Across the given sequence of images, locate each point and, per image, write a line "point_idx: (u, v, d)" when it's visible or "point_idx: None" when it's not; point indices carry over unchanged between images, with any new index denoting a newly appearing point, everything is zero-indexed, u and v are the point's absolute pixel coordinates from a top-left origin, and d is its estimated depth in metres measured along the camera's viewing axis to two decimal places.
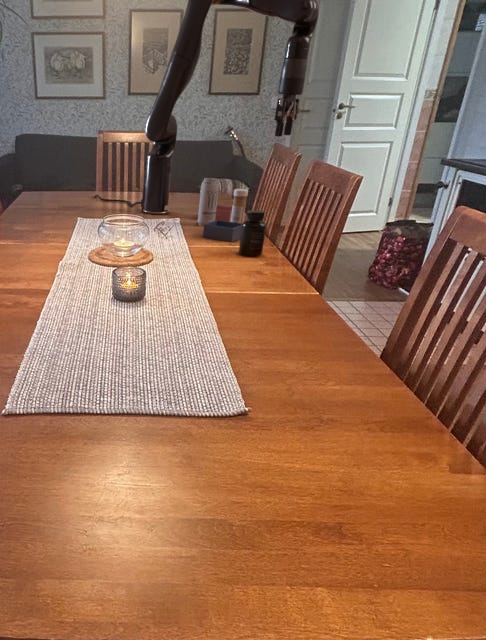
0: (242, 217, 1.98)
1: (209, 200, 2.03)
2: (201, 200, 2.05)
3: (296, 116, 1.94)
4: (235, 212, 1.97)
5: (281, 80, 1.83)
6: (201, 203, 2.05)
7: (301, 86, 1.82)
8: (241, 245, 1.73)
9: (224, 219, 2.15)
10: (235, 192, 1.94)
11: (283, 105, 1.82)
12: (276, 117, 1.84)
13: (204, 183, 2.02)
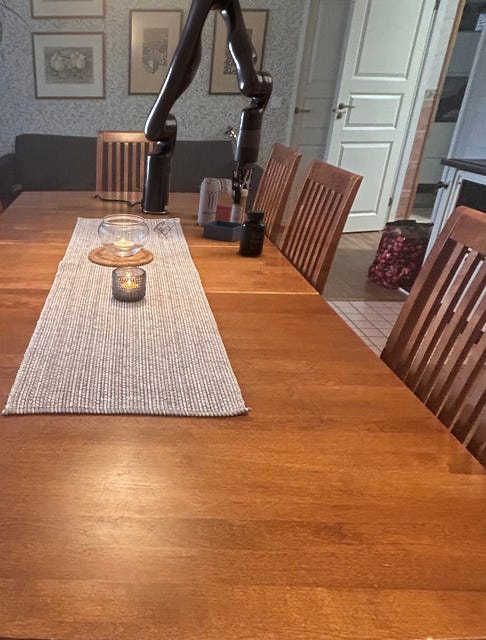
0: (242, 217, 1.98)
1: (209, 200, 2.03)
2: (201, 200, 2.05)
3: (251, 184, 1.97)
4: (236, 212, 1.97)
5: (236, 149, 1.88)
6: (201, 203, 2.05)
7: (255, 155, 1.87)
8: (241, 245, 1.73)
9: (224, 219, 2.15)
10: None
11: (238, 178, 1.88)
12: (233, 188, 1.91)
13: (204, 183, 2.02)
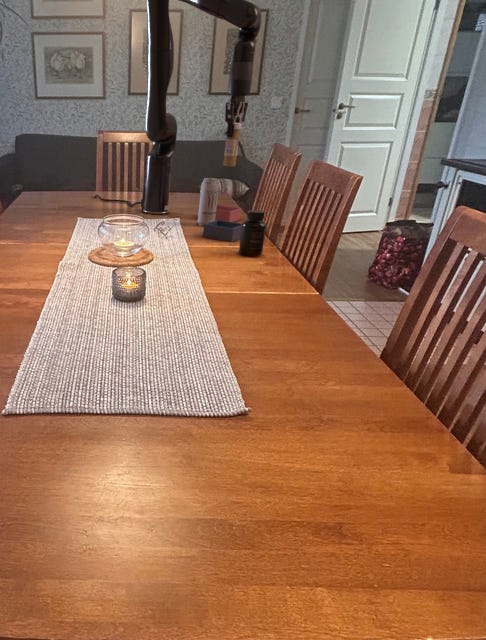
0: (235, 150, 2.06)
1: (209, 200, 2.03)
2: (201, 200, 2.05)
3: (244, 119, 2.06)
4: (229, 145, 2.05)
5: (229, 82, 1.96)
6: (201, 203, 2.05)
7: (248, 87, 1.95)
8: (241, 245, 1.73)
9: (224, 219, 2.15)
10: None
11: (231, 109, 1.96)
12: (226, 120, 1.99)
13: (204, 183, 2.02)
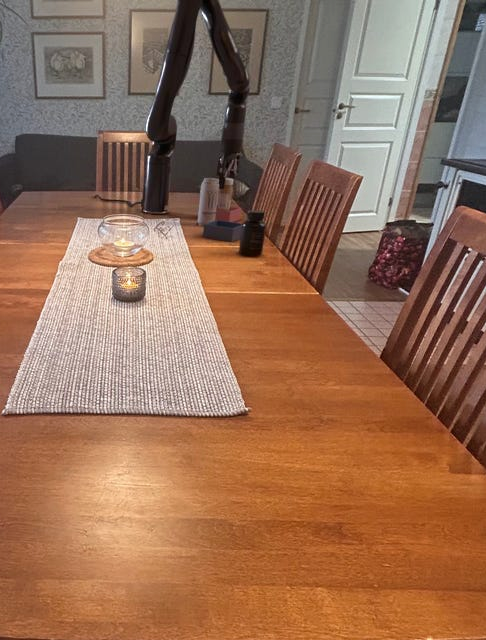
0: (228, 204, 2.16)
1: (209, 200, 2.03)
2: (201, 200, 2.05)
3: (238, 170, 2.16)
4: (222, 199, 2.15)
5: (222, 140, 2.06)
6: (201, 203, 2.05)
7: (239, 146, 2.05)
8: (241, 245, 1.73)
9: (224, 219, 2.15)
10: None
11: (223, 163, 2.05)
12: (218, 173, 2.07)
13: (204, 183, 2.02)
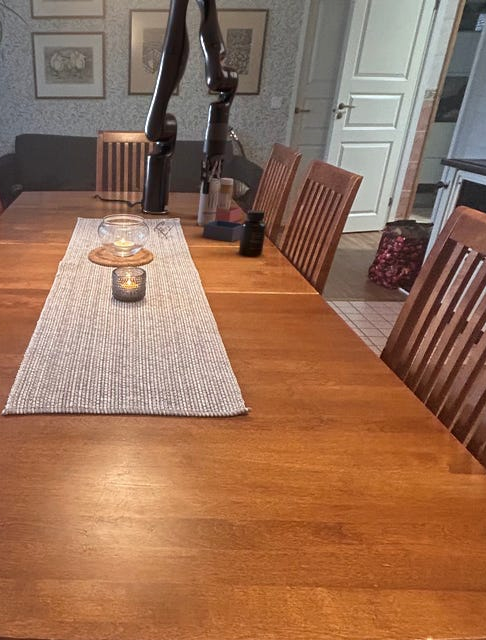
0: (228, 204, 2.16)
1: (209, 200, 2.03)
2: (201, 200, 2.05)
3: (221, 174, 2.06)
4: (222, 199, 2.15)
5: (205, 141, 1.96)
6: (201, 203, 2.05)
7: (223, 147, 1.95)
8: (241, 245, 1.73)
9: (224, 219, 2.15)
10: (221, 181, 2.13)
11: (206, 167, 1.95)
12: (201, 178, 1.98)
13: None
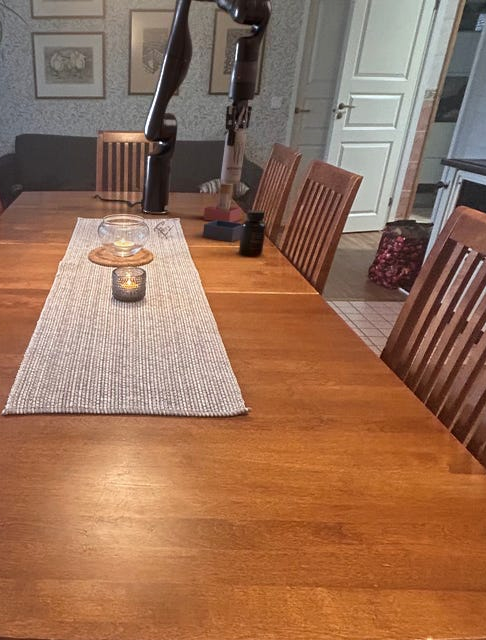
0: (228, 204, 2.16)
1: (235, 154, 1.80)
2: (225, 153, 1.81)
3: (248, 125, 1.82)
4: (222, 199, 2.15)
5: (231, 84, 1.72)
6: (225, 157, 1.81)
7: (252, 91, 1.71)
8: (241, 245, 1.73)
9: (224, 219, 2.15)
10: (221, 181, 2.13)
11: (233, 114, 1.71)
12: (227, 126, 1.74)
13: None
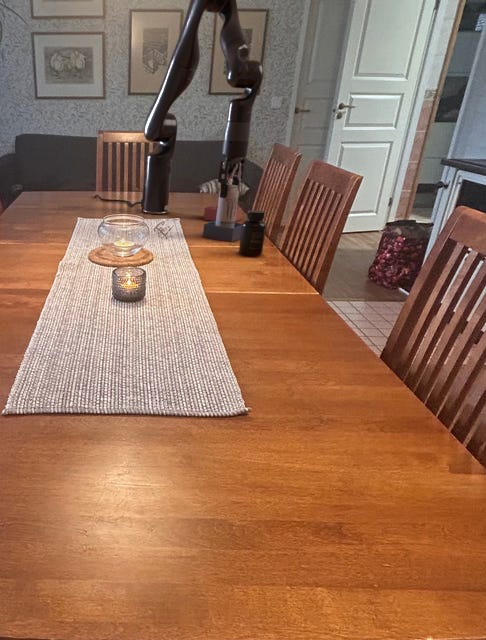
0: None
1: (228, 209, 1.87)
2: (219, 209, 1.89)
3: None
4: None
5: (224, 142, 1.79)
6: (219, 212, 1.89)
7: (244, 149, 1.78)
8: (241, 245, 1.73)
9: None
10: None
11: (226, 168, 1.78)
12: (219, 180, 1.80)
13: None
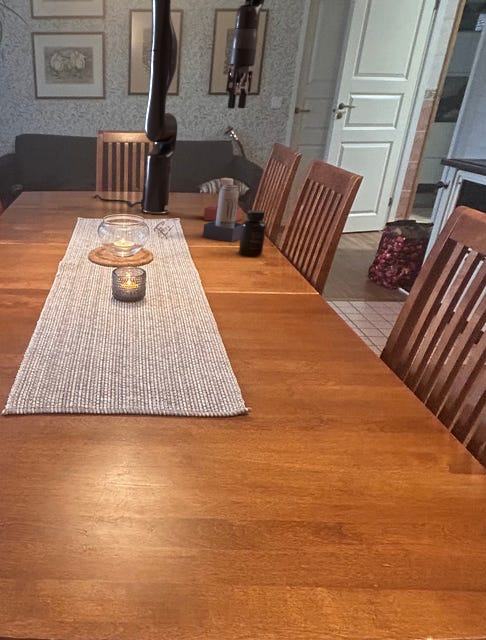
0: None
1: (228, 209, 1.87)
2: (219, 209, 1.89)
3: (250, 89, 1.92)
4: None
5: (232, 51, 1.82)
6: (219, 212, 1.89)
7: (252, 57, 1.81)
8: (241, 245, 1.73)
9: None
10: (221, 181, 2.13)
11: (234, 76, 1.81)
12: (227, 88, 1.83)
13: (223, 190, 1.86)
